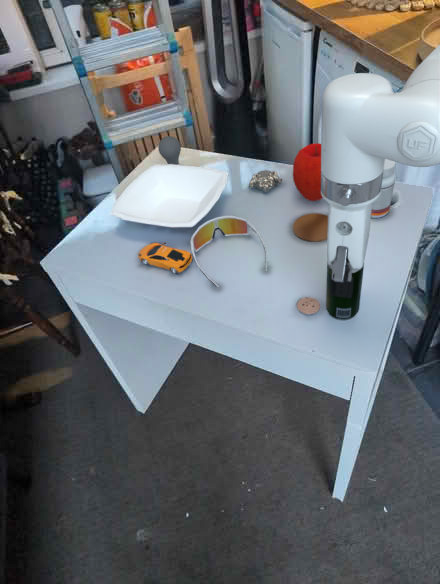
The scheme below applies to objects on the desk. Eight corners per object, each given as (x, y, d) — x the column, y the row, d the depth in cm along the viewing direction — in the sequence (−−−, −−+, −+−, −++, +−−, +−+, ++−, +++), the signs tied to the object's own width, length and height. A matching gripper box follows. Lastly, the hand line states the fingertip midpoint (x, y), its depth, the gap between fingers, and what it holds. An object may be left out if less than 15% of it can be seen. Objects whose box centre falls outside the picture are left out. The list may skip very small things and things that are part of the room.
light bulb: (161, 177, 112) (151, 141, 105) (172, 166, 115) (163, 130, 108) (179, 180, 110) (170, 144, 103) (190, 169, 113) (182, 133, 106)
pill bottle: (360, 200, 95) (366, 152, 86) (390, 202, 93) (399, 154, 84) (357, 217, 91) (362, 169, 83) (388, 220, 89) (397, 171, 81)
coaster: (339, 217, 92) (340, 215, 91) (332, 244, 86) (332, 243, 86) (297, 212, 94) (297, 211, 94) (288, 239, 89) (288, 237, 89)
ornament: (250, 198, 101) (249, 184, 98) (247, 182, 105) (246, 168, 103) (284, 193, 100) (284, 179, 97) (280, 177, 105) (280, 163, 102)
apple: (346, 199, 95) (351, 148, 87) (309, 215, 93) (310, 164, 85) (320, 179, 102) (322, 130, 93) (284, 194, 100) (283, 145, 91)
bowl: (202, 252, 90) (197, 230, 86) (108, 236, 98) (100, 215, 94) (239, 191, 103) (236, 169, 99) (154, 181, 111) (149, 161, 107)
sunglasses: (247, 224, 94) (246, 207, 90) (276, 274, 85) (277, 258, 81) (185, 244, 92) (181, 228, 88) (208, 298, 83) (205, 282, 79)
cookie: (299, 297, 77) (299, 293, 77) (322, 300, 76) (322, 296, 75) (294, 313, 75) (294, 309, 74) (318, 317, 74) (318, 313, 73)
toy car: (150, 246, 93) (146, 233, 91) (197, 259, 88) (194, 246, 86) (134, 263, 90) (129, 251, 88) (182, 278, 85) (178, 265, 83)
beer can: (362, 319, 71) (369, 266, 62) (329, 324, 71) (331, 271, 63) (354, 296, 74) (359, 242, 66) (322, 300, 75) (323, 247, 66)
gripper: (374, 225, 49) (362, 327, 61) (388, 148, 59) (375, 248, 72) (307, 219, 51) (309, 318, 64) (332, 146, 62) (329, 244, 75)
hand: (344, 280), depth 68 cm, fingers closed on beer can, 5 cm apart
